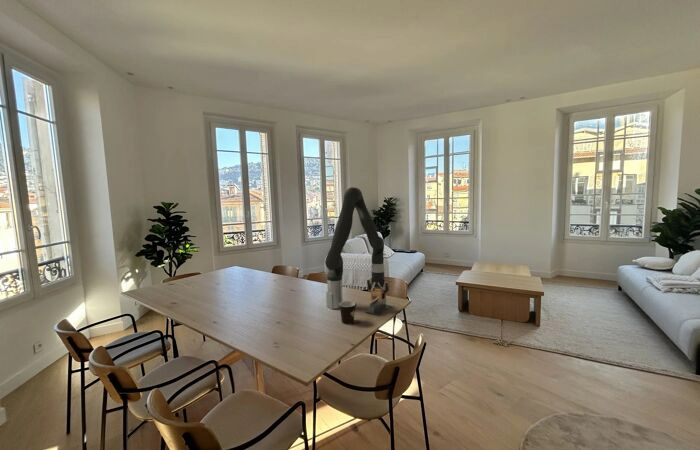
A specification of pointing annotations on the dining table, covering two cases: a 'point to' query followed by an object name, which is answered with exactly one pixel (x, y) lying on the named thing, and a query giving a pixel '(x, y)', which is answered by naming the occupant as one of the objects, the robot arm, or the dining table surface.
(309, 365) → the dining table surface
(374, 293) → the block
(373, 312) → the rail
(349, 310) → the coffee mug
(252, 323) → the dining table surface
